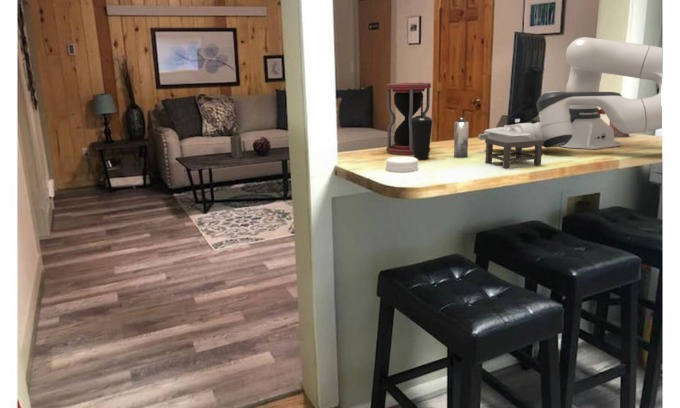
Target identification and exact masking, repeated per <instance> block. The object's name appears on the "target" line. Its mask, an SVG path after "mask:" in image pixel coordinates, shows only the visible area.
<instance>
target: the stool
mask: <svg viewBox="0 0 680 408" xmlns="http://www.w3.org/2000/svg"><path fill="white" fill-rule="evenodd" d="M484 141H485V142H484V143H485V163H486V164H492V163H493V159H494V160H499V161H502V169H505V170H507V169H511V162H519V161H520V162H521V161H530V160H531V161H532V160H533V166H535V167H541V166H542V153H543V146H542V145H544V140H541V139H535V138H530V137H525V136H507V137H494V138H485V140H484ZM493 146H497V147H502V148H503V152H496V153H493V151H494V150H493V149H494V147H493ZM525 146H533V147H534V152H533V153H534V154H531V153H527V152H523V148H522V147H525ZM515 147H516V148H515ZM512 148H515V151H512ZM513 155H514V157H512V156H513ZM511 157H512V158H511Z"/></svg>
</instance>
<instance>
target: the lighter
mask: <svg viewBox="0 0 680 408" xmlns="http://www.w3.org/2000/svg"><path fill="white" fill-rule="evenodd" d="M608 120H609V119H608ZM608 125H609V126H610V127H612V128H613V130H614V139H615V138H616V139H617V138H624V139H625V138H630V134H627V133H623V132H621V131H619V130H618V129H616V128H615V127H614V126H613V124H612V123H611V122H610V120H609V124H608Z"/></svg>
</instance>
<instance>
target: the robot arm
mask: <svg viewBox="0 0 680 408" xmlns="http://www.w3.org/2000/svg"><path fill="white" fill-rule="evenodd" d="M662 48H663V47H661V46H655V45H649V44H648V45H647V44H642V43H641V44H640V43H633V42H626V41H617V40H611V39H602V38H596V37H595V38H594V37H585V36H583V37H578V38H576V39H574V40H573V41H572V42H571V43H570V44H569V45H568V46H567V48H566V51H565V60H566V62H567V64H568V65H569V67H570V70H569V75H568V80H567V83H566V88H565V91H557V90H556V91H548V92H544V93H543V94H541V95H540V97H539V98H538V99H537V101H536V108H537V112H538V116H539V121H537V122H534V123H532V122H523V123H522V122H519V123H515V124H505V125H504V126H500V127H498V126H497V127H493V128H487V129H485V130H484V131H483V132H484V133H480V134H478V135H477V138H478V140H481V141H483V140H484V141H485V138H494V137H507V136H525V137H530V138H535V139H541V140H544V145H542V148H557V147H562V148H568V149H586V150H587V149H588V150H590V149H591V150H599V149H606V148H612V147H619V146H622V143H621V142H620V141H615V138H614V130H613V128H612V127H610V126H609V124H608V123H607V122H606V121H605V120H603V118H601V117H602V116H601V115H606V117H607V118H608V120H610V121H609V123H610V122H611V123H612V124H613V126H614V127H615V128H616V129H618V130H619V131H621V132H623V133H627V134H629V135H630V134H640V133H647V132H652V131H657V130H661V129H663V128H662V106H661V84H662ZM602 74H609V75H615V76H621V77H628V78H634V79H635V78H636V79H640V80H647V81H648V80H649V81H652V82H655V83H656V84H657V85H658V88H657V89H656V95H653V96H648V97H643V98H637V99H636V98H632V99H631V98H627V97H624V96H623V95H622V94H621V93H620V92H616V91H600V86H601V85H600V84H601V80H602V76H603V75H602ZM599 108H600V109H599ZM533 147H534V146H525V147H522V149H529V148H533ZM514 149H516V147H514Z"/></svg>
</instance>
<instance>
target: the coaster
mask: <svg viewBox="0 0 680 408" xmlns="http://www.w3.org/2000/svg"><path fill="white" fill-rule="evenodd" d="M385 162H386V163H385V166H386V167H385V169H386V170H387V172H391V171H393V172H392V173H411V172H410V171H412V172H415V170H416V171H418V169H419V167H418V166H419V163H418V162H419V160H418V159H417V158H414V156H413V157H412V156H392V157H388V158H387V159H385Z"/></svg>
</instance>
